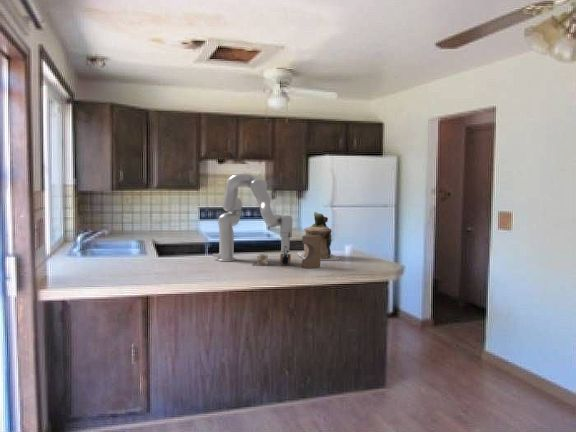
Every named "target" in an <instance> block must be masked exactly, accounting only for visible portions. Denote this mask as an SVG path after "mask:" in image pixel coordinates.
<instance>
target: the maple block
mask: <svg viewBox="0 0 576 432" xmlns="http://www.w3.org/2000/svg"><path fill="white" fill-rule="evenodd" d="M268 261H269V254H268V253H267V254H266V253H258V254H257V255H256V263H257V265H268V263H269V262H268Z"/></svg>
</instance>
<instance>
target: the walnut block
mask: <svg viewBox="0 0 576 432" xmlns="http://www.w3.org/2000/svg"><path fill="white" fill-rule="evenodd" d="M279 256H280V257H279V259H280V262H279V263H280V265H290V263H292V262H291V257H292V255H291V253H288V264H283V253H280V255H279Z"/></svg>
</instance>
